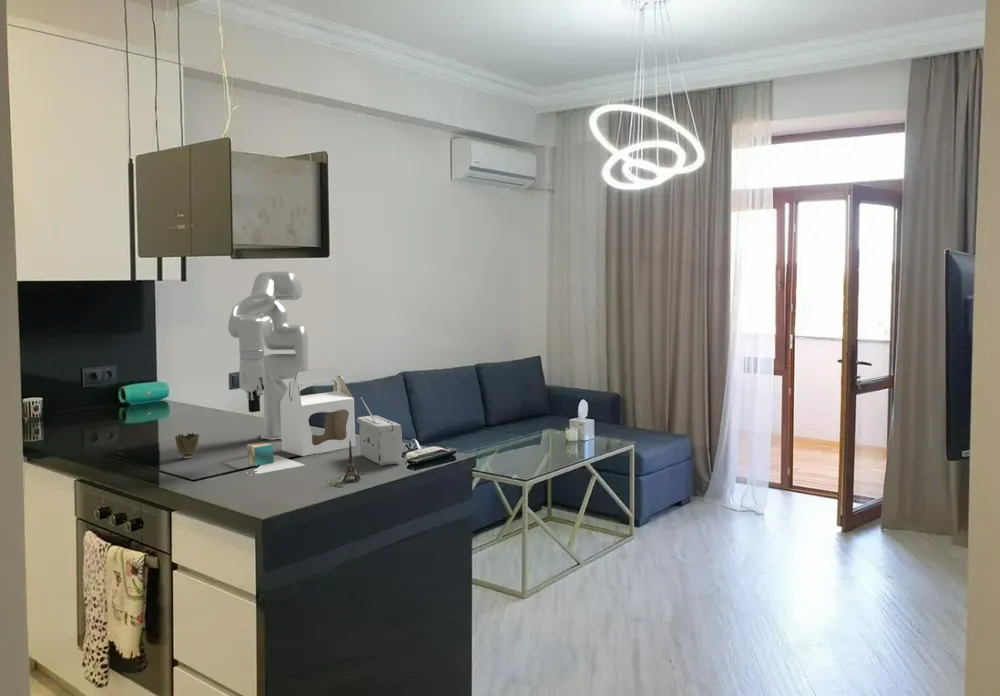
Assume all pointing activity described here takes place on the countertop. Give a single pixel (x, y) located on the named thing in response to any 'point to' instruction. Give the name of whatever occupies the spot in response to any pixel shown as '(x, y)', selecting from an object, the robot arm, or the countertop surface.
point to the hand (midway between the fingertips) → (254, 411)
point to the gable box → (302, 407)
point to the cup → (187, 444)
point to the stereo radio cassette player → (380, 439)
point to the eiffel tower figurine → (347, 473)
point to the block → (260, 453)
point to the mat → (277, 465)
